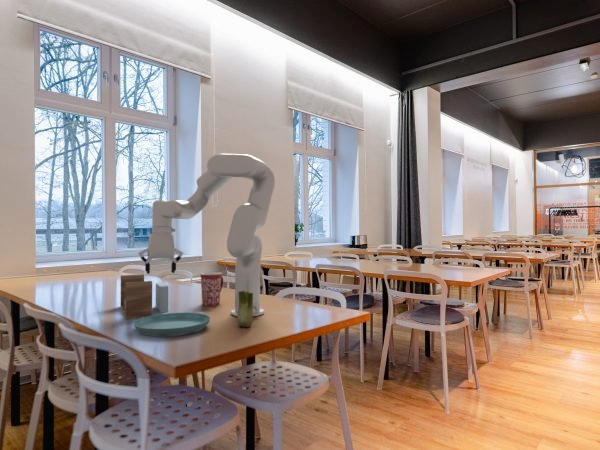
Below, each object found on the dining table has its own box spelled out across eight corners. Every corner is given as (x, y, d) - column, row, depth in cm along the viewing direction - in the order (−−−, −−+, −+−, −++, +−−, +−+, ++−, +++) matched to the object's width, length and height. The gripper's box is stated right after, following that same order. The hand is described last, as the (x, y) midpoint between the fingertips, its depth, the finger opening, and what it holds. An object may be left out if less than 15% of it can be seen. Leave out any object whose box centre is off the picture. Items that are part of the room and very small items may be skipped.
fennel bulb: (254, 327, 137) (255, 291, 137) (241, 329, 134) (241, 292, 134) (248, 324, 142) (248, 289, 142) (234, 325, 139) (234, 290, 140)
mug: (212, 307, 171) (213, 274, 171) (195, 305, 175) (195, 273, 175) (230, 302, 183) (230, 272, 183) (214, 300, 187) (214, 271, 187)
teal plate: (200, 318, 151) (200, 309, 151) (219, 333, 130) (219, 323, 130) (129, 325, 140) (130, 315, 140) (137, 343, 119) (137, 332, 119)
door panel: (168, 311, 162) (168, 286, 162) (160, 312, 161) (160, 286, 161) (163, 306, 173) (163, 282, 173) (155, 307, 172) (155, 283, 172)
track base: (152, 316, 153) (152, 281, 153) (125, 319, 149) (126, 283, 149) (143, 304, 176) (143, 274, 176) (120, 306, 172) (120, 275, 172)
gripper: (181, 231, 175) (180, 271, 175) (138, 230, 167) (136, 272, 167) (185, 231, 168) (184, 273, 168) (140, 230, 160) (139, 274, 160)
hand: (160, 272), depth 167 cm, fingers open, 9 cm apart
